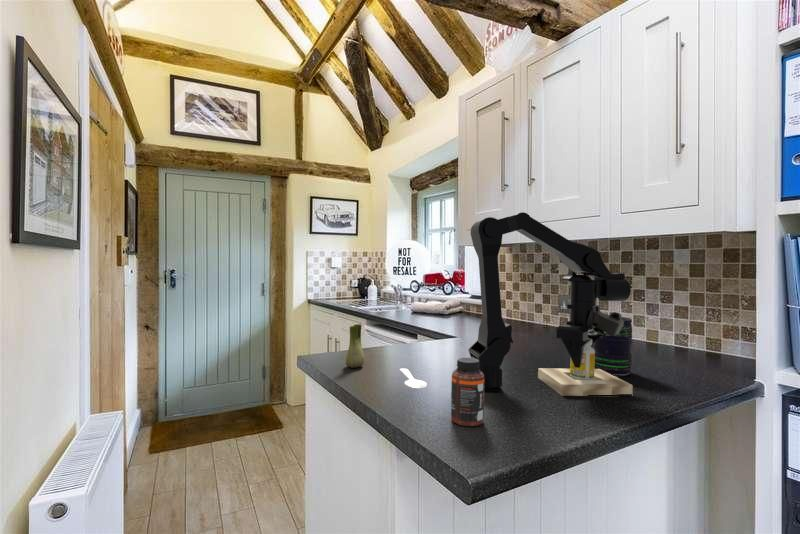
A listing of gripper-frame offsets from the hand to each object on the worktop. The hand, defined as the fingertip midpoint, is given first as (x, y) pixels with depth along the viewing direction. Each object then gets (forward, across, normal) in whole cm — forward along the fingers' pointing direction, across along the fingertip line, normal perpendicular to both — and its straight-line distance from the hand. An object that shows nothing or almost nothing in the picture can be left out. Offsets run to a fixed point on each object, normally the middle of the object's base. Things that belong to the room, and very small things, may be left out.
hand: (581, 365), depth 95 cm
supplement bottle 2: (+3, 0, 0) cm, 3 cm away
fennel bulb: (+6, -28, +51) cm, 58 cm away
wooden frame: (+5, 0, 0) cm, 5 cm away
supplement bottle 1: (+6, -38, +7) cm, 39 cm away
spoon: (+6, -25, +33) cm, 42 cm away
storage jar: (+5, +21, -1) cm, 21 cm away
